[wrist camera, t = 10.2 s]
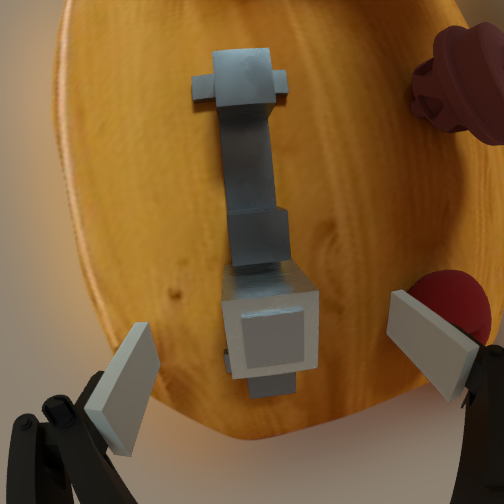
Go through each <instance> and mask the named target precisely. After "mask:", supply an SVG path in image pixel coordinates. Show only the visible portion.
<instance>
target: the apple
mask: <svg viewBox="0 0 504 504" xmlns="http://www.w3.org/2000/svg"><path fill="white" fill-rule="evenodd" d="M408 294H409V295H411V296H412V297H413V298H415V299H416V300H418V301H419V302H421V303H422V304H423V305H425V306H426V307H428V308H429V309H430V310H432V311H433V312H435V313H436V314H437V315H439V316H440V317H442V318H443V319H444V320H446V321H447V322H451V323H453V324H456V325H458V326H459V327H460V328H462V329H463V330H464V331H466V332H467V333H469V335H471V336H473V337H474V338H475V339H477V340H478V341H479V342H480V343H482V344H483V345H484V346H485V345H486V343H487V340H488V338H489V335H490V331H491V321H492V319H491V310H490V305H489V302H488V298H487V296H486V294H485V292H484V290H483V288H482V286H481V285H480V284H479V283H478V282H477V281H476V280H475V279H474V278H473V277H472V276H470V275H469V274H467V273H465V272H463V271H458V270H443V271H437V272H433V273H430V274H428V275H426V276H424V277H423V278H421V279H420V280H419V281H417V282H416V283H415V285H414V286H413V287H412V288H411V289H410V291H409V292H408Z"/></svg>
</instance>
